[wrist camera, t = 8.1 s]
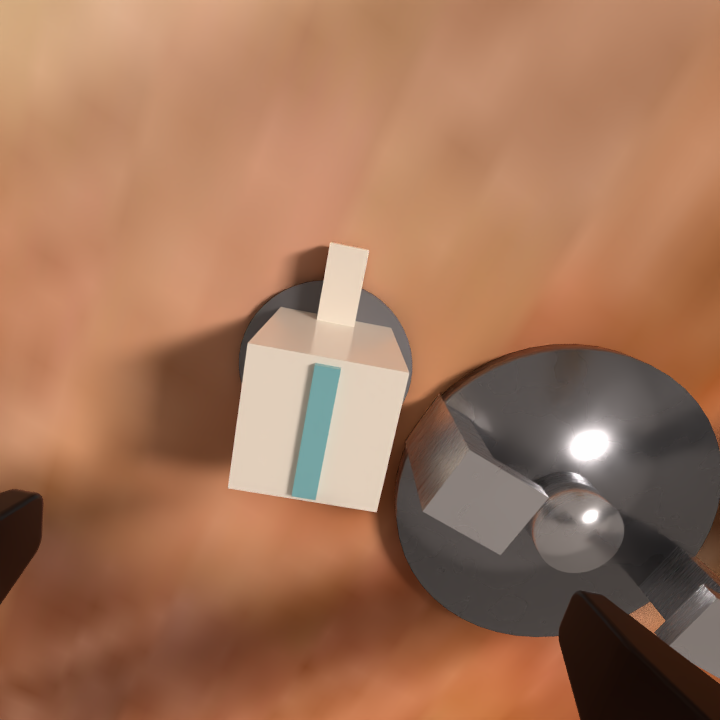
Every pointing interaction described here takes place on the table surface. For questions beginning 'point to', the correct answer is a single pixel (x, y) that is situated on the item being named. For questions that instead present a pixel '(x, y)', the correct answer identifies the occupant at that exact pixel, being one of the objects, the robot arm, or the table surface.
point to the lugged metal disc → (565, 495)
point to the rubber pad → (308, 301)
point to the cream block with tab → (320, 398)
